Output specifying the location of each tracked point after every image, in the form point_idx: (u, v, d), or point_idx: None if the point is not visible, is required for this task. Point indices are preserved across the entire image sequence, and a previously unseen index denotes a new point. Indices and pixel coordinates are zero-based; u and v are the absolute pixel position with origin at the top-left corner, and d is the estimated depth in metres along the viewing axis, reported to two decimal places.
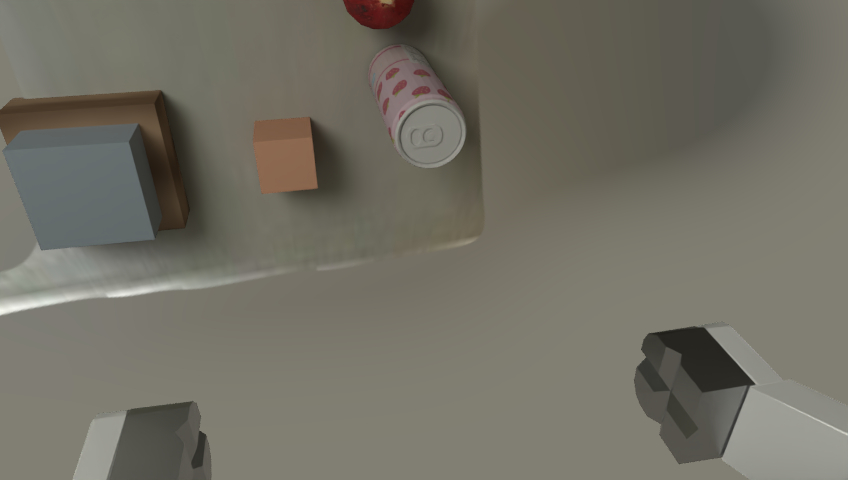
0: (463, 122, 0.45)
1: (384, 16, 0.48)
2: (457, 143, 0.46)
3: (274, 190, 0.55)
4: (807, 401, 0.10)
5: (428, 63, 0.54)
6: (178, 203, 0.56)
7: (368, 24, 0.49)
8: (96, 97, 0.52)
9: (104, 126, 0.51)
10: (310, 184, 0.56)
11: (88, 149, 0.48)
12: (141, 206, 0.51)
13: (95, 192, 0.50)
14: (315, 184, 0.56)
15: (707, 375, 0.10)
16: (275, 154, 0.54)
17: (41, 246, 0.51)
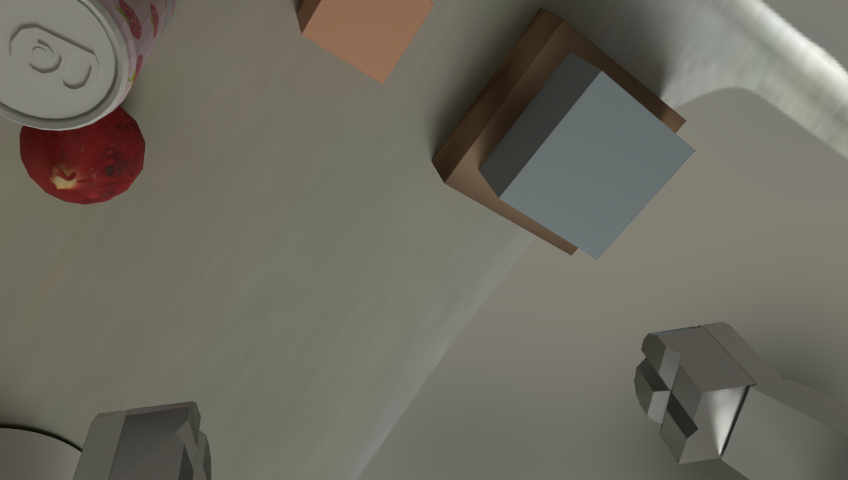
0: None
1: (81, 149, 0.30)
2: None
3: None
4: (807, 401, 0.10)
5: None
6: (536, 58, 0.36)
7: (117, 134, 0.31)
8: None
9: None
10: None
11: (538, 215, 0.37)
12: (566, 123, 0.35)
13: (584, 171, 0.37)
14: None
15: (707, 375, 0.10)
16: (368, 46, 0.32)
17: (690, 154, 0.38)
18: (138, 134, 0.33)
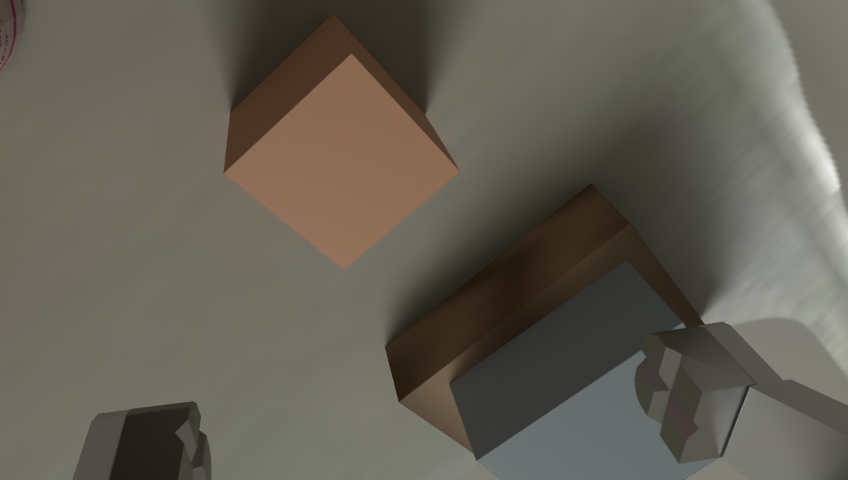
0: None
1: None
2: None
3: (432, 151, 0.19)
4: (807, 401, 0.10)
5: None
6: (576, 265, 0.24)
7: None
8: None
9: None
10: (353, 82, 0.17)
11: None
12: (607, 380, 0.22)
13: (607, 441, 0.24)
14: (344, 68, 0.17)
15: (707, 375, 0.10)
16: (335, 213, 0.19)
17: None
18: None
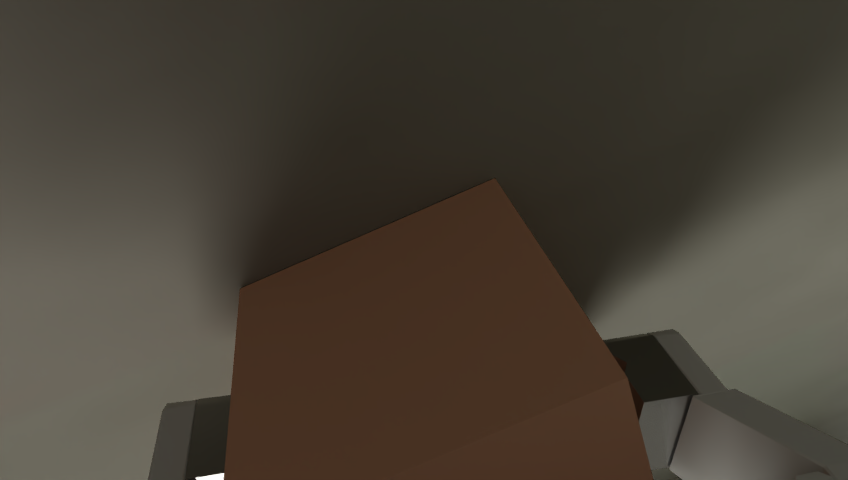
0: None
1: None
2: None
3: None
4: (748, 411, 0.09)
5: None
6: None
7: None
8: None
9: None
10: (596, 426, 0.07)
11: None
12: None
13: None
14: (594, 401, 0.07)
15: (651, 384, 0.10)
16: None
17: None
18: None
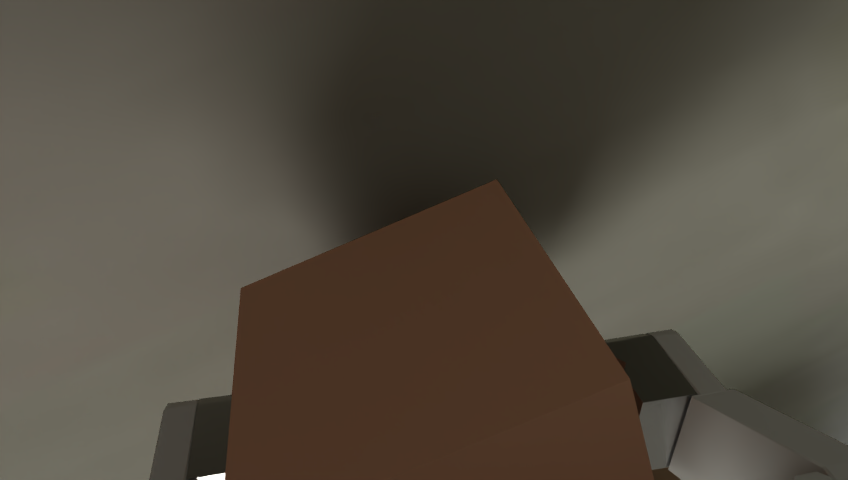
0: None
1: None
2: None
3: None
4: (747, 412, 0.09)
5: None
6: None
7: None
8: None
9: None
10: (599, 428, 0.07)
11: None
12: None
13: None
14: (597, 402, 0.07)
15: (649, 384, 0.10)
16: None
17: None
18: None
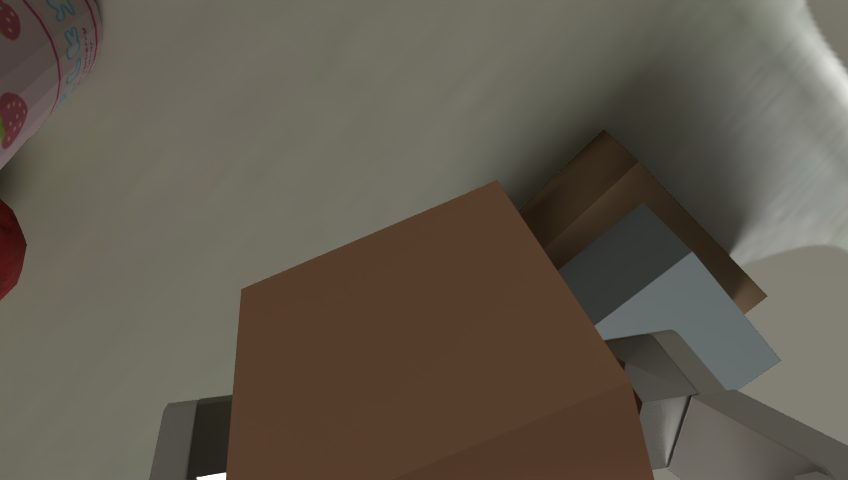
0: None
1: None
2: None
3: None
4: (747, 412, 0.09)
5: None
6: (592, 204, 0.26)
7: None
8: None
9: None
10: (599, 430, 0.07)
11: None
12: (626, 309, 0.24)
13: None
14: (598, 403, 0.07)
15: (649, 385, 0.10)
16: None
17: (773, 364, 0.28)
18: (12, 240, 0.22)
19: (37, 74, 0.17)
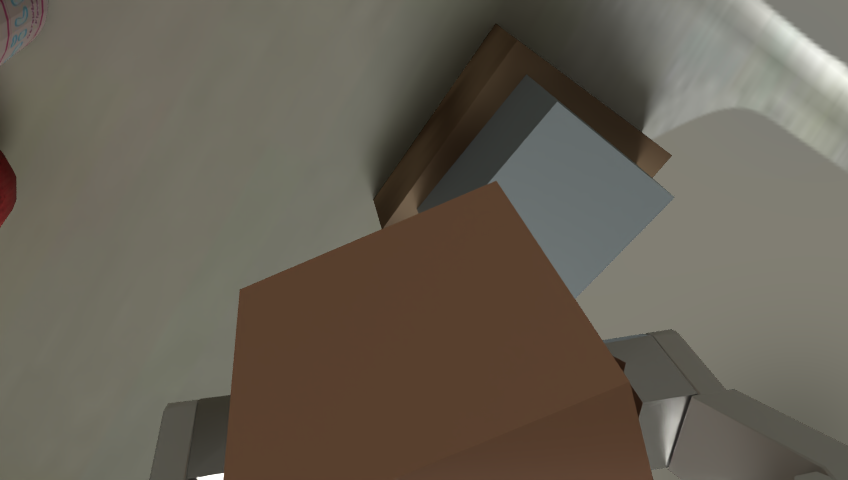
0: None
1: None
2: None
3: None
4: (748, 412, 0.09)
5: None
6: (485, 85, 0.30)
7: None
8: None
9: None
10: (597, 432, 0.07)
11: None
12: (513, 163, 0.28)
13: (537, 219, 0.30)
14: (596, 405, 0.07)
15: (649, 384, 0.10)
16: None
17: (667, 201, 0.31)
18: (1, 169, 0.28)
19: None
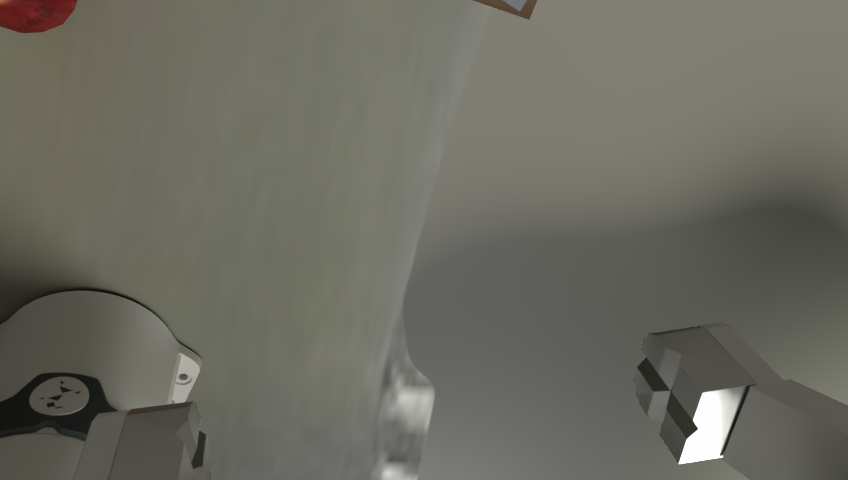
0: None
1: None
2: None
3: None
4: (807, 401, 0.10)
5: None
6: None
7: None
8: None
9: None
10: None
11: None
12: None
13: None
14: None
15: (707, 375, 0.10)
16: None
17: None
18: None
19: None
